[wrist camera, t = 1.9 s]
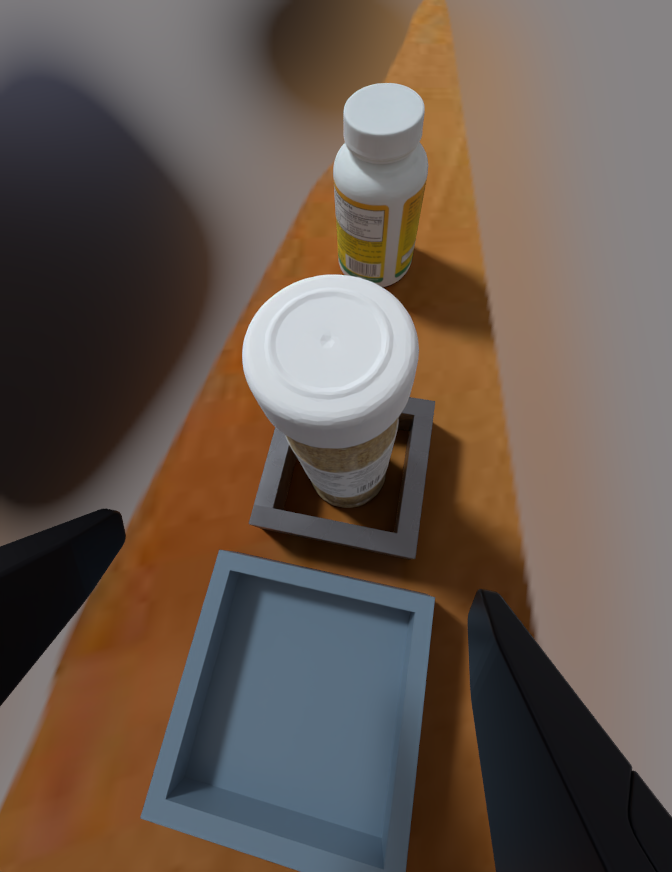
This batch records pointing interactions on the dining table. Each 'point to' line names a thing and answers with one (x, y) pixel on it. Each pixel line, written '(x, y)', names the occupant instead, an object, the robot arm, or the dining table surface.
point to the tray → (298, 718)
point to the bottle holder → (396, 544)
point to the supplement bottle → (380, 182)
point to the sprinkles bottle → (334, 378)
